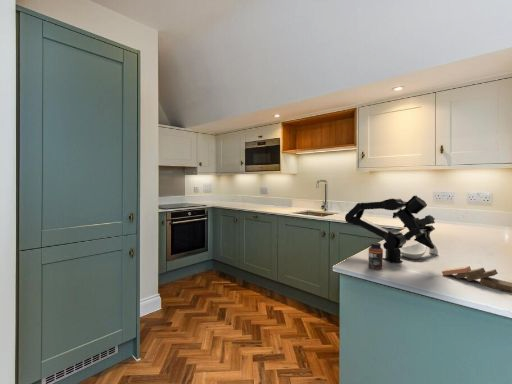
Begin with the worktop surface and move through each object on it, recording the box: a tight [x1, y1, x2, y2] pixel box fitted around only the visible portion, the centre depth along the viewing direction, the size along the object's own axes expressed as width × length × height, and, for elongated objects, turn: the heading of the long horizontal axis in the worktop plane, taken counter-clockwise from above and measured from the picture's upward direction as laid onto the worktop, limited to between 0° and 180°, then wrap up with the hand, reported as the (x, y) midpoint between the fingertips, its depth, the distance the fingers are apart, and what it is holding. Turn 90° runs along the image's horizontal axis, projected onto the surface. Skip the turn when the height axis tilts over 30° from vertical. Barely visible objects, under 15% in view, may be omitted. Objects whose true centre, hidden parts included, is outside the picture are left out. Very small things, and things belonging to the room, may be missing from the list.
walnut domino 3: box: [479, 276, 512, 291], centre depth 106 cm, size 2×5×9 cm
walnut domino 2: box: [465, 268, 499, 282], centre depth 110 cm, size 2×5×9 cm
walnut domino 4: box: [480, 283, 512, 293], centre depth 106 cm, size 2×5×9 cm
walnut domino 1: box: [454, 267, 486, 280], centre depth 113 cm, size 2×5×9 cm
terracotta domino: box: [441, 265, 472, 276], centre depth 117 cm, size 2×5×9 cm
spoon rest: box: [399, 242, 439, 260], centre depth 148 cm, size 24×12×7 cm, turn 115°
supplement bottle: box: [367, 241, 384, 271], centre depth 127 cm, size 6×6×11 cm
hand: (433, 248), depth 124 cm, fingers closed
